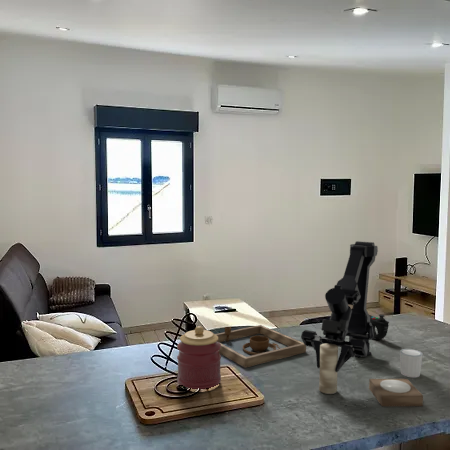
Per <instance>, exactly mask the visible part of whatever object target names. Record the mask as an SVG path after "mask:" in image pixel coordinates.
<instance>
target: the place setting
mask: <svg viewBox="0 0 450 450" xmlns="http://www.w3.org/2000/svg"><path fill="white" fill-rule="evenodd" d="M231 331H232V327H231V326H225V327H224V332H225V334H226V335H227V338H226V339H227V341H226V342H227V343H229V342H230V340H229V335H230V334H231ZM249 337H250V338H249V342H247V343H244V344H243V345H242V351H243V352H244V353H246V354H248V355H249V356H252V355H256V354H260V353H264V352H265V351H266V350H267V349H268V348H271V349H273V350H277V348H278V349H281V348H280V346H279V345H278V343H275V342H273V343H270V338H269V337H267V336H264V335H251V336H249ZM248 347H250V348H251V349H252V350H253V351H254V352H253V351H250V350H247V349H246V348H248Z"/></svg>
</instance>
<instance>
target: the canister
mask: <svg viewBox="0 0 450 450" xmlns="http://www.w3.org/2000/svg"><path fill="white" fill-rule="evenodd" d="M215 334H216V333H214V332H213V331H210V330H206V329H204V328H203V327H202V326H201V325H200V326H199V325H198V326H196V327H195V328H194V329H193V330H189V331H186V332H185V333H184V334H182V335H181V336H180V337H179V340H180V342H179V343H177V345H176V348H177V350H178V355H176V359H177V379H176V381H177V383H179V384H180V385H183V386H185V387H188V388H192V389H198V388H199V389H205V388H211V387H214V386H216V385H218V384H219V383H220V384H221V381H222V374H221V359H222V354H220V353H219V349H220V348H221V344H222V343H221V342H218V341H217V340H218V336H217V335H215ZM220 343H221V344H220Z"/></svg>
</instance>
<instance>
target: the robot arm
mask: <svg viewBox="0 0 450 450" xmlns="http://www.w3.org/2000/svg"><path fill="white" fill-rule="evenodd" d="M378 249H379V248H378V245H375V242H371V241H359V240H358V241H355V242H354V243H352V244H350V245H349V257H348V260H347V262H346V267H345V271H344V273H343V276H342V278H341V279H339V280H337V282H336V284H335V285H334V287H332V288H330V289H328V290H327V291H326V292H325V294H324V298H325V301H326V303H327V307H328V309H329V311H330V312H331V313H330V318H328V319H322V323H321V329H320V330H321V331H322V334H323V335H324V337H323V336H320V335H318V333H317V331H315V330H308V329H304V330H303V331H302V332H301V335H300V339H301V342H303V343H304V345H306V347H308V348H313V350H314V351H315V357H316V367H317V369H320V345H321V344H325V343H329V344H335V345H337V346H338V348H340V352H339V355H338V362H337V365H336V369H335V371H336V372H337V373H338V372H339V371H340V370H341V369H342V367H343V366H344V365H345V364H346V363H347V362H348V360H350V359H351V358H355V357H357V358H362V357H364V358H366V357H367V356H369V355H372V352H371V351H370V348H371V347H370V345H371V344H370V343H371V342H370V341H371V340H374V339H373V328H372V325H371V322H370V316H369V315H370V313H369V312H368V310H367V305H368V304H367V303H368V292H369V291H368V290H369V278H370V269H371V267H372V265H373V264H374V263H375V261H376V257H377V256H378V252H379V250H378ZM350 306H352V308H351V307H350ZM346 337H349V338H348V341H347V340H346Z"/></svg>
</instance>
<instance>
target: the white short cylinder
mask: <svg viewBox="0 0 450 450" xmlns="http://www.w3.org/2000/svg"><path fill="white" fill-rule="evenodd" d="M423 355H424V353H423V352H422V351H420V350H417V349H413V348H403V349H402V348H401V349H400V350H399V363H400V364H399V365H400V366H399V367H400V373H401V375H403V376H404V377H407V378H419V377H420V375H421V370H422V363H423Z"/></svg>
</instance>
